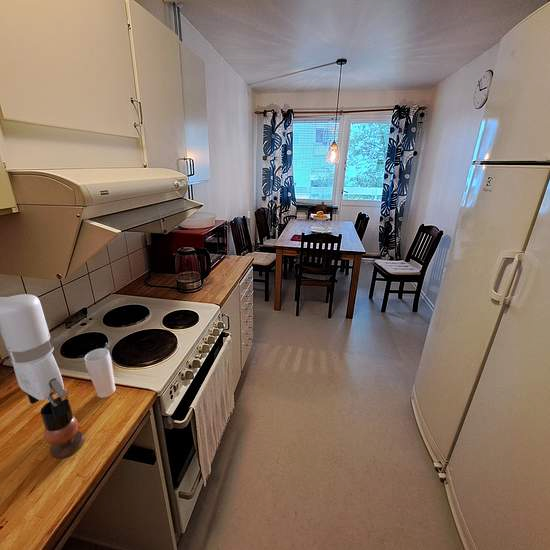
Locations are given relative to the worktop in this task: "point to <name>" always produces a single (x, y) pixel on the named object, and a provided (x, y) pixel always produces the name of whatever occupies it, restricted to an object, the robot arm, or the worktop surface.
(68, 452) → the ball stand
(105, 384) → the drinking glass
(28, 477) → the worktop surface
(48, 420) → the napkin ring
